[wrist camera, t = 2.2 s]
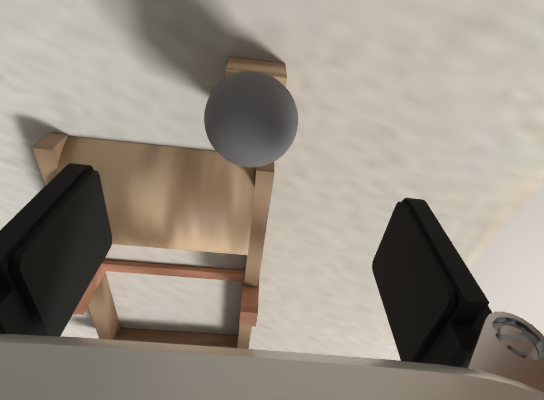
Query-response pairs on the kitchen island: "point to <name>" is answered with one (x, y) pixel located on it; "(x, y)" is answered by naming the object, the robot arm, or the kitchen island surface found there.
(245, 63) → the tee
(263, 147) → the ball
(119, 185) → the wooden roller rack
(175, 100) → the kitchen island surface
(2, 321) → the robot arm
